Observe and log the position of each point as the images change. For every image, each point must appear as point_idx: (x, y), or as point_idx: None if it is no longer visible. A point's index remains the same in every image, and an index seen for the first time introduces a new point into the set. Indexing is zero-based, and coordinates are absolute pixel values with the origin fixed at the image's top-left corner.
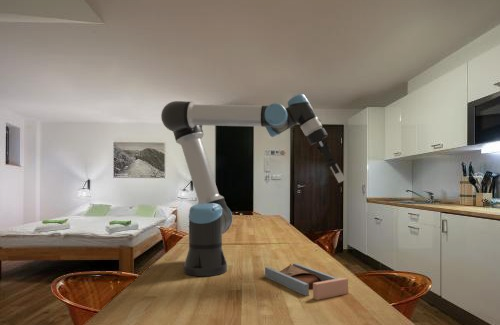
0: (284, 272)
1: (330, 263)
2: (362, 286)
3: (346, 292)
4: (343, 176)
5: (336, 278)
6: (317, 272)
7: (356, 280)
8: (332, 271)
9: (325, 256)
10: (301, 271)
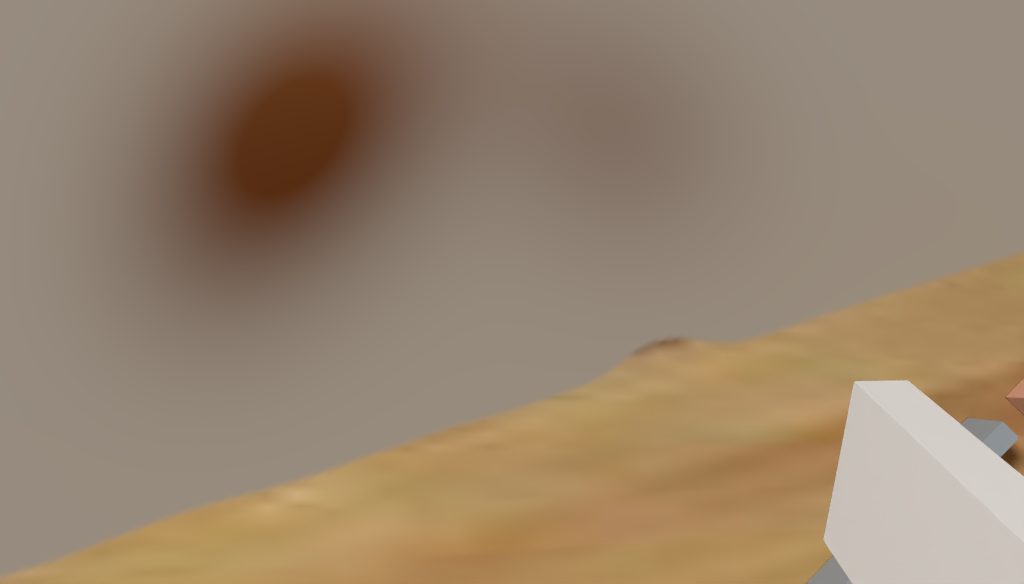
0: None
1: (425, 485)
2: (883, 307)
3: None
4: (964, 442)
5: (1006, 437)
6: None
7: (783, 333)
8: (628, 465)
9: (215, 530)
10: None
